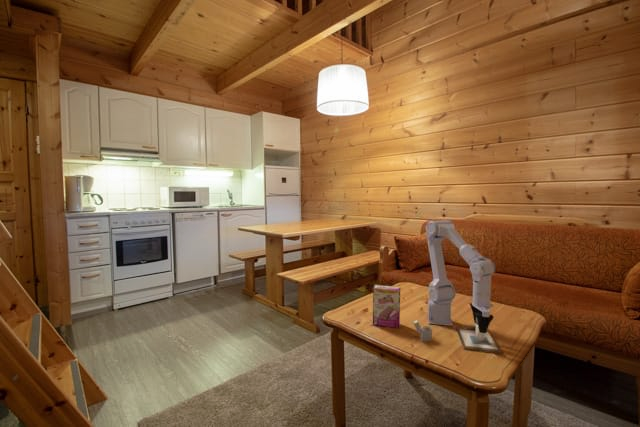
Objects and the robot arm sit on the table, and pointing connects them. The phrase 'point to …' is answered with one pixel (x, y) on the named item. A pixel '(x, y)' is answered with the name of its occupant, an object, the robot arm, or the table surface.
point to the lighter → (423, 332)
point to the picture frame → (470, 343)
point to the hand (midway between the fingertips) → (480, 327)
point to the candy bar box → (386, 306)
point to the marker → (479, 334)
